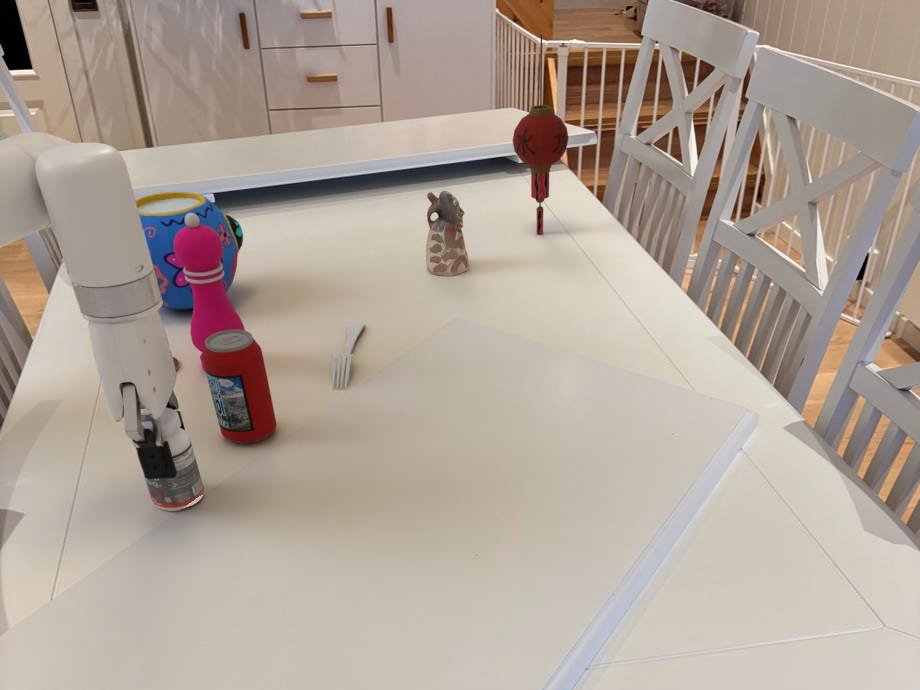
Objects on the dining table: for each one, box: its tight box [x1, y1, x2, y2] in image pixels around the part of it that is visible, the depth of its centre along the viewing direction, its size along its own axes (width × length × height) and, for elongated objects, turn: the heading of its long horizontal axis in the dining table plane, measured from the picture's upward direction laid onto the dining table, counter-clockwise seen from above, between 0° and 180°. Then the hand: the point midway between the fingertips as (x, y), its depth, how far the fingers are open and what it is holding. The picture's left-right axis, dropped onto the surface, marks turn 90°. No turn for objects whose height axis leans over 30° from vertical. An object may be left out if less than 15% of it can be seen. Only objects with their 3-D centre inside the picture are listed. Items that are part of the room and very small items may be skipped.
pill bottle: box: [135, 408, 205, 512], centre depth 98 cm, size 6×6×10 cm
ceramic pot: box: [135, 191, 244, 310], centre depth 139 cm, size 18×18×15 cm
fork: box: [331, 323, 365, 390], centre depth 127 cm, size 3×21×3 cm, turn 179°
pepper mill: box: [174, 213, 246, 373], centre depth 120 cm, size 7×7×20 cm
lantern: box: [512, 34, 569, 236], centre depth 153 cm, size 10×10×30 cm
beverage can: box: [202, 330, 277, 444], centre depth 108 cm, size 7×7×12 cm
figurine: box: [425, 190, 470, 277], centre depth 148 cm, size 7×7×12 cm
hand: (167, 459), depth 98 cm, fingers closed on pill bottle, 5 cm apart
